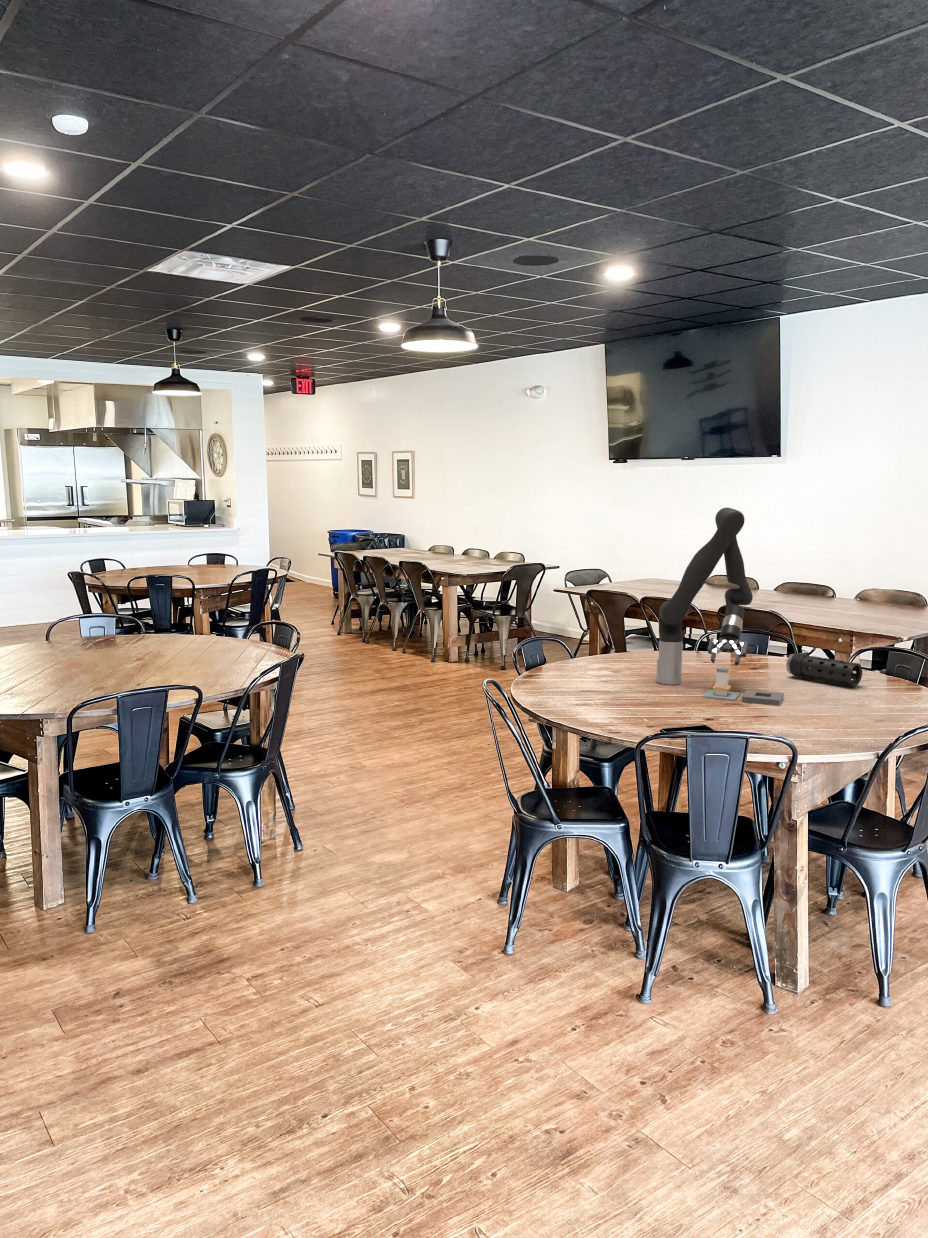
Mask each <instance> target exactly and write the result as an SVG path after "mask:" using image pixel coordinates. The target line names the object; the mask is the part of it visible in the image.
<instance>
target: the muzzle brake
mask: <svg viewBox="0 0 928 1238" xmlns="http://www.w3.org/2000/svg"><path fill="white" fill-rule="evenodd" d="M785 667H786V671H787V673H788V674H791V675H793V676H795V677H798V678H799V677H800V678H803V680H806V681H811V680H812V681H814V680H816V681H821V682H824V683H825V684H831V685H836V686H842V687H847V688H853V689H854V688H856V686H859V684H860V682H861V681H862V677H863V667H862V665H861V664H860V663H858V662H852V661H843V660H838V659H832V658H825V657H820V656H815V655H814V656H813V655H811V656H809V655H808V654H805V653H800V652H797V653H792V654H790V655H789V656H788V657H787V660H786V665H785Z"/></svg>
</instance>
